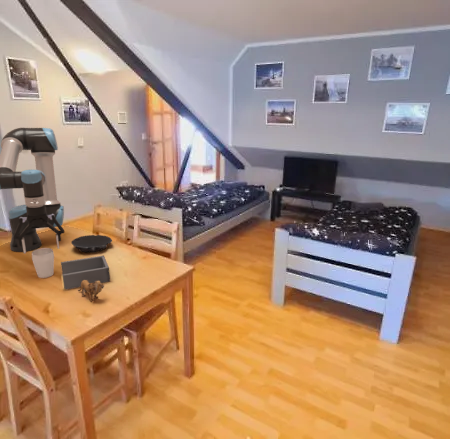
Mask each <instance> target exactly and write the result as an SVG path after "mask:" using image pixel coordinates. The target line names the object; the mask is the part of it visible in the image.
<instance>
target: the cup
mask: <svg viewBox="0 0 450 439" xmlns="http://www.w3.org/2000/svg"><path fill="white" fill-rule="evenodd" d="M31 260H32V263H33V267H34V270H35V272H36V274H37V278H39V279H48V278H50V277H52V276H54V273H55V272H54V271H55V270H54V269H55V267H54V265H55V252H54V250H53V248H50V247H42V248H41V247H39V248H37V249H34V250H32V252H31Z"/></svg>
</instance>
